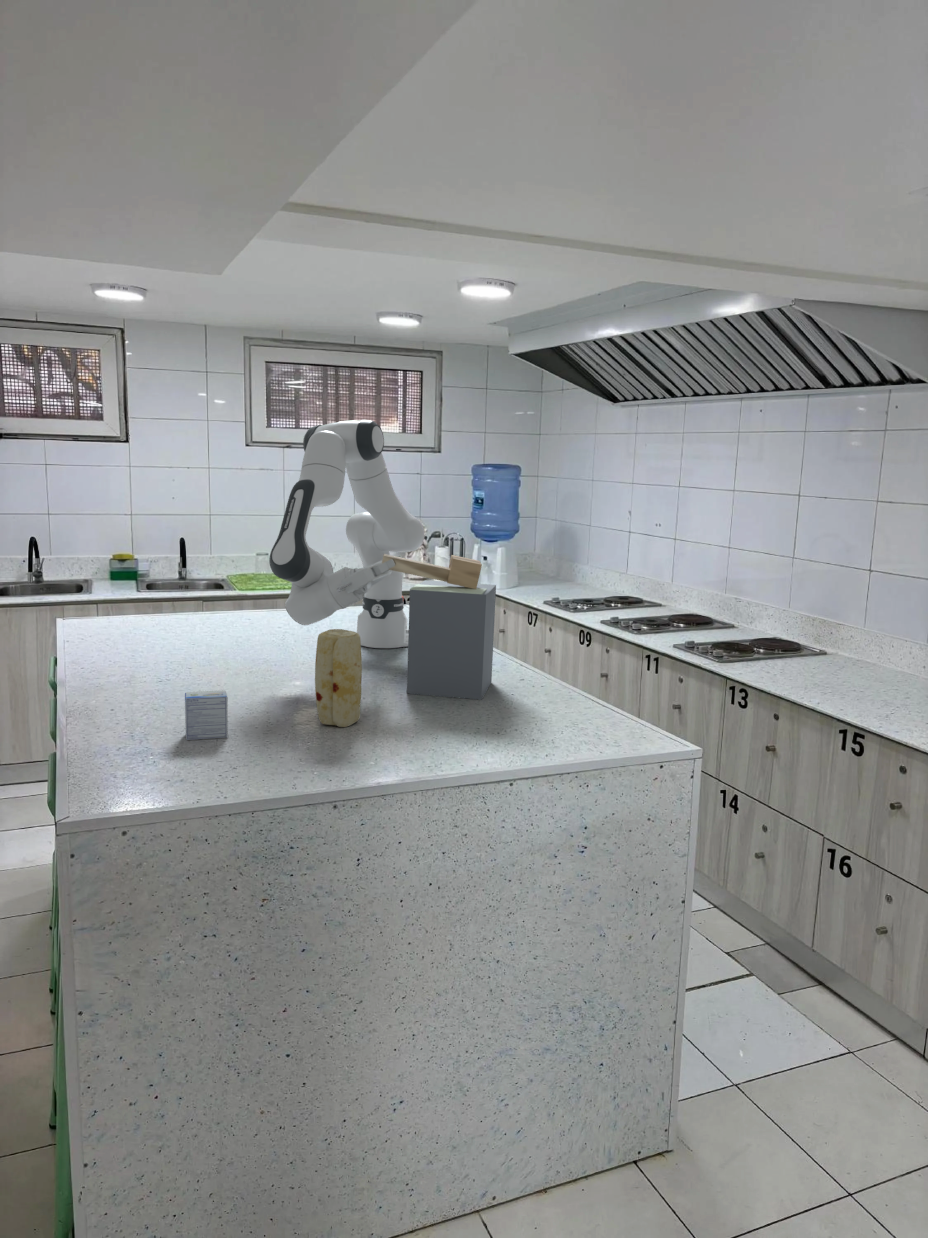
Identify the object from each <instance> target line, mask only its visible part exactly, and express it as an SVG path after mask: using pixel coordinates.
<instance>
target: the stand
mask: <svg viewBox="0 0 928 1238" xmlns="http://www.w3.org/2000/svg"><path fill="white" fill-rule="evenodd" d="M496 592H497V584H491V583H490V584H487V583H478V584H477V588H476V589H473V588H468V587H464V586H459V585H454V584H449V583H447V582H445V581H440V580H428V579H427V580H426V579H425V580H423V581H422V582H420V583H417V584H415V585H413V586H412V587H410V588H409V602H408V604H409V608H408V610H409V611H408V629H409V634H408V646H407V667H406V668H407V671H406V673H407V674H406V675H407V676H406V694H407V693H410V694H409V695H419V694H420V695H421V696H430V695H435V696H434V697H442V696H444V697H443V698H454V697H460V698H459V699H465V698H470V699H469V700H477V699H478V700H479V701H481V700H483V698H484V696H485V695H486V693H487V691H488V689H489V688H488V687H490V686H491V685H492V677H493V659H494V657H493V656H494V639H495V638H494V637H495V636H494V635H495V620H496V619H495V615H496ZM484 694H485V695H484ZM420 695H419V696H420Z"/></svg>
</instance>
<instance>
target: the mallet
mask: <svg viewBox="0 0 928 1238" xmlns="http://www.w3.org/2000/svg"><path fill="white" fill-rule="evenodd" d="M391 559H394V560H395V562H396V565H395V566H394V567H392V568H390V569H388V570H393V571H398V572H402V574H403V573H404V574H407V575H413V576H417V577H421V578H426V579H432V580H434V581H443V582H447V583H449V584H454V585H459V586H464V587H468V588H473V589H476V588H477V584H479V578H480V576H481V575H480V574H481V570H482V567H483V564H482V563H481V561H480V560H477V559H473V558H468V557H464V556H463V557H462V556H458V555H453V554H451V555H450V560H449V564H448V566H447V567H446V566H442V565H439V564H438V565H437V564H432V563H428V562H424V561H419V560H414V559H409V558H404V557H400V556H395V555H391V554H390V555H387V554H384V555H383V560H382V563H384V562H387V561H389V560H391Z"/></svg>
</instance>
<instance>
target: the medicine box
mask: <svg viewBox="0 0 928 1238" xmlns="http://www.w3.org/2000/svg"><path fill="white" fill-rule="evenodd" d="M228 709H229V708H228V693H227V691H226V690H224V689H223V690H222V689H221V690H202V691H186V692H185V693H184V710H185V711H184V719H185V720H184V721H185V740H186V741H194V740H196V741H197V740H206V739H208V740H211V739H225V738H227V739H228V738H229V723H228V717H229V715H228V714H229V713H228Z"/></svg>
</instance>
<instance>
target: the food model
mask: <svg viewBox="0 0 928 1238" xmlns="http://www.w3.org/2000/svg"><path fill="white" fill-rule="evenodd" d="M316 642H317V643H316V650H315V652H316V653H315V666H314V668H315V669H314V687H315V690H314V691H315V692H314V693H315V702H316V712H317V715H318V720H319V722H320V723H321V724H322V725H328V726H337V727H339V728H346V727H349V726H352V725H353V724H355V723H357V722H358V721H359V720H360V718H361V701H362V679H363V678H362V675H363V674H362V673H363V667H362V666H363V661H362V659H363V657H362V656H363V655H362V645H361V641H360V636H359V634H358V633H357V631H354V630H349V629H348V630H347V629H341V628H334V629H332V628H331V629H328V630H325V631H323V632H320V633H319V634H318V635H317V640H316Z"/></svg>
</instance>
